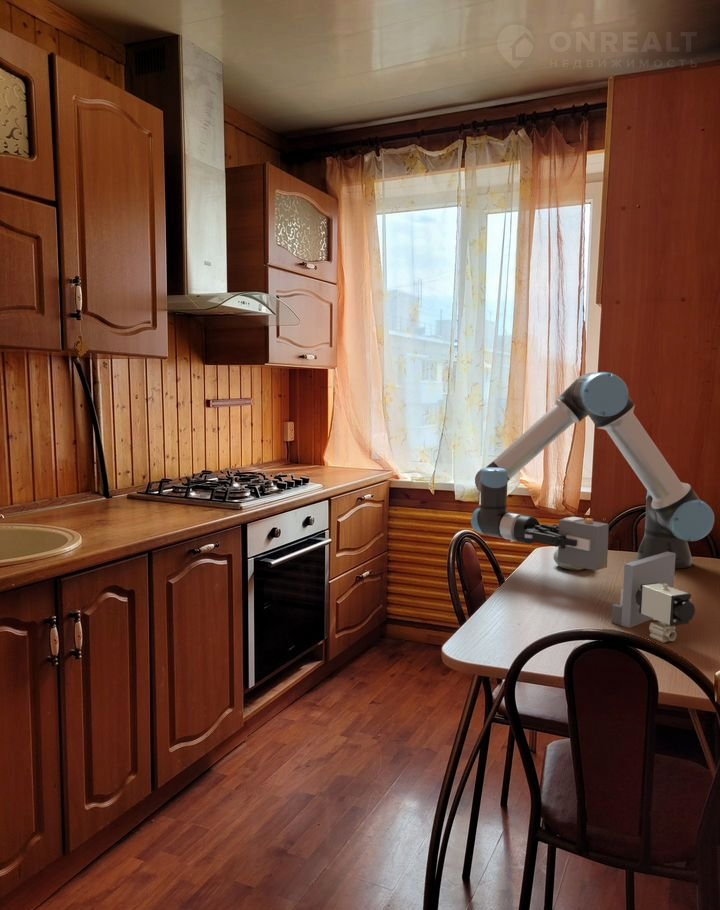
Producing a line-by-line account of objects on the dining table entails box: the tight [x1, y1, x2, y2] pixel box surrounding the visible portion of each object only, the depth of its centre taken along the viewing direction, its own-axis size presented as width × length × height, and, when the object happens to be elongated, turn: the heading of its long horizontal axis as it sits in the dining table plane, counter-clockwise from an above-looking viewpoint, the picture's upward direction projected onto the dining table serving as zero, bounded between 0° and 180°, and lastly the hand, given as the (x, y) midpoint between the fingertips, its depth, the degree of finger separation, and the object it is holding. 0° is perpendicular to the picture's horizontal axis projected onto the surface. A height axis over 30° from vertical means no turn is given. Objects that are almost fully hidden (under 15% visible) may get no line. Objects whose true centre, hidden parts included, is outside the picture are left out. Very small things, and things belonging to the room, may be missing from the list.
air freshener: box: [553, 548, 586, 572], centre depth 203 cm, size 11×8×10 cm
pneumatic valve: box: [635, 583, 696, 644], centre depth 147 cm, size 6×12×12 cm, turn 23°
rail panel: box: [610, 552, 676, 629], centre depth 161 cm, size 19×4×14 cm, turn 129°
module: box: [557, 516, 610, 571], centre depth 177 cm, size 5×11×12 cm, turn 39°
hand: (596, 543), depth 174 cm, fingers closed on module, 5 cm apart
